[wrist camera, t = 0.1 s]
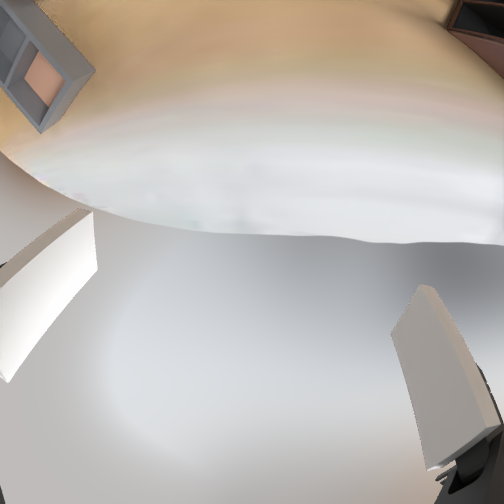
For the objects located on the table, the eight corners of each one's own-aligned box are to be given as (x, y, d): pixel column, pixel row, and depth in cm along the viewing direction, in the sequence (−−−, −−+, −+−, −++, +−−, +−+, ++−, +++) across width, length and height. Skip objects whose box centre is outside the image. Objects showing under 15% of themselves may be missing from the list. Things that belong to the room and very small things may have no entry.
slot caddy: (24, -9, 17) (1, -3, 14) (96, 70, 30) (73, 81, 26) (-3, 44, 23) (-24, 54, 20) (60, 119, 36) (40, 134, 32)
